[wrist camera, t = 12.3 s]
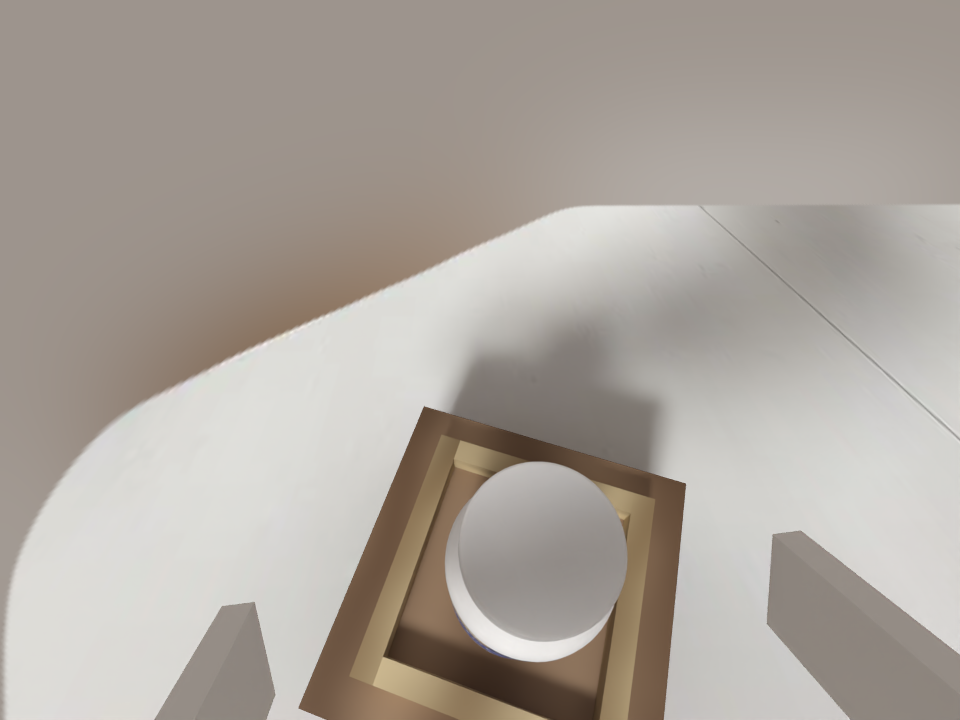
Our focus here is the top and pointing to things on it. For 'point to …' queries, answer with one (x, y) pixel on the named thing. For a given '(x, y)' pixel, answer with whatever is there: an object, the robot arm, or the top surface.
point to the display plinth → (433, 622)
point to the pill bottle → (535, 562)
